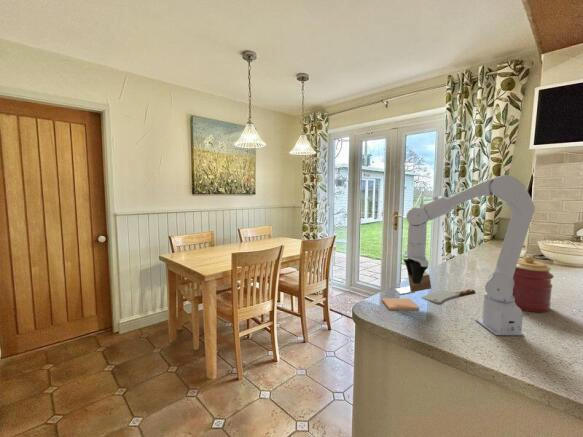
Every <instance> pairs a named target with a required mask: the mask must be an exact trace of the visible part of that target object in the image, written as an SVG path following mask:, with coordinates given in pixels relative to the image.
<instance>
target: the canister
mask: <svg viewBox="0 0 583 437" xmlns="http://www.w3.org/2000/svg"><path fill="white" fill-rule="evenodd" d="M551 270H552V269H551V267H550V266H549V265H546V263H544V262H540V261H536V259H535V257H534V256H532V255H526V256H525V257H524V259H521V258H519V260H518V263H517V266H516V269H515V272H514V276H513V279H514V287H513V294H512V295H513V297H515V303H516V305H517V306H518V307H519V308H520V309H521V310H522V311H526V312H532V313H547V312H549V310H550V308H551V298H552V297H551V296H552V288H553V284H552V279H554V275H553V273H551V272H550V271H551Z"/></svg>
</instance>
